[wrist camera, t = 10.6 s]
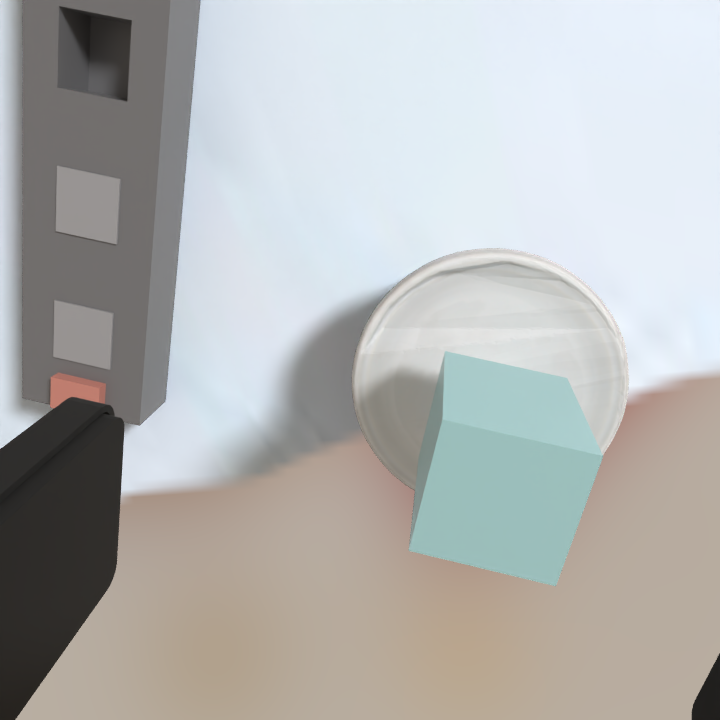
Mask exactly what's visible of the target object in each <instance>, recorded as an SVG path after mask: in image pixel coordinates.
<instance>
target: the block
mask: <svg viewBox="0 0 720 720" xmlns="http://www.w3.org/2000/svg"><path fill="white" fill-rule="evenodd" d="M602 458H603V455H602V452H601V450H600V448H599V446H598V444H597V442H596V439H595V437H594V435H593V433H592V431H591V429H590V426H589V424H588V422H587V420H586V418H585V416H584V413H583V411H582V409H581V407H580V405H579V403H578V400H577V398H576V396H575V394H574V392H573V390H572V387H571V385H570V383H569V381H568V379H567V378H565V377H560V376H556V375H551V374H547V373H542V372H538V371H533V370H529V369H524V368H520V367H515V366H511V365H506V364H501V363H497V362H492V361H488V360H483V359H479V358H474V357H470V356H465V355H461V354H456V353H452V352H447V351H445V353H444V357H443V361H442V365H441V369H440V373H439V377H438V381H437V385H436V389H435V393H434V397H433V401H432V405H431V409H430V413H429V417H428V421H427V425H426V429H425V433H424V437H423V441H422V446H421V450H420V454H419V458H418V467H417V477H416V486H415V496H414V506H413V516H412V526H411V534H410V545H409V551H413V552H416V553H420V554H425V555H429V556H433V557H437V558H441V559H446V560H450V561H454V562H458V563H462V564H466V565H470V566H474V567H478V568H483V569H487V570H491V571H495V572H499V573H503V574H507V575H512V576H516V577H520V578H524V579H528V580H532V581H537V582H541V583H545V584H549V585H553V586H556V584H557V582H558V579H559V576H560V573H561V571H562V568H563V565H564V562H565V560H566V557H567V554H568V551H569V549H570V546H571V543H572V540H573V538H574V535H575V532H576V529H577V526H578V524H579V521H580V518H581V515H582V513H583V510H584V507H585V505H586V502H587V499H588V496H589V494H590V491H591V488H592V485H593V483H594V480H595V477H596V474H597V471H598V468H599V466H600V463H601V461H602Z"/></svg>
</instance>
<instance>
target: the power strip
mask: <svg viewBox="0 0 720 720" xmlns="http://www.w3.org/2000/svg"><path fill="white" fill-rule="evenodd" d="M199 10H200V0H23V398H25V399H29V400H33V401H38V402H42V403H46V404H50V407H51V408H56V407H57V406H58V405H59V404H61V403H62V402H63V401H65V400H66V399H68V398H70V397H77V398H81V399H85V400H90V401H94V402H99V403H103V404H107V405H111V407H112V408H113V410H114V413H115V416H116V417H120V418H122V419H123V422H126V423H131V424H135V425H139V426H140V425H141V424H142V423H143V422H144V421H145V420H146V419H147V418H148V417H149V416H150V415H151V414H152V413H153V412H155V411H156V410H157V409H158V408H159V407H160V406H161V405H162V404H163V403H164V402H165V399H166V388H167V377H168V365H169V354H170V342H171V331H172V319H173V308H174V297H175V285H176V274H177V262H178V251H179V239H180V228H181V216H182V205H183V194H184V182H185V171H186V159H187V148H188V136H189V125H190V113H191V102H192V91H193V79H194V68H195V56H196V45H197V33H198V22H199Z"/></svg>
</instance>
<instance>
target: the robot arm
mask: <svg viewBox="0 0 720 720" xmlns="http://www.w3.org/2000/svg"><path fill="white" fill-rule="evenodd" d="M123 442H124V422H123V419H122V418H120V417H116V416H115V413H114V410H113V408H112V407H111V405H107V404H103V403H99V402H94V401H90V400H85V399H81V398H77V397H70V398H68V399H66V400H65V401H63V402H62V403H61V404H59V405H58V406H57V407H56V408H54V409H53V410H52V411H50V412H49V413H48V414H46V415H45V416H44V417H42V418H41V419H40V420H38V421H37V422H36V423H34V424H33V425H32V426H30V427H29V428H28V429H26V430H25V431H24V432H22V433H21V434H20V435H18V436H17V437H16V438H14V439H13V440H12V441H10V442H9V443H8V444H7V445H5V446H4V447H3V448H1V449H0V720H15V719H16V718H17V716H18V715H19V714H20V712H21V711H22V709H23V708H24V707H25V705H26V704H27V702H28V701H29V699H30V698H31V696H32V695H33V694H34V692H35V691H36V690H37V688H38V687H39V685H40V684H41V682H42V681H43V680H44V678H45V677H46V676H47V674H48V673H49V671H50V670H51V668H52V667H53V666H54V664H55V663H56V661H57V660H58V659H59V657H60V656H61V654H62V653H63V651H64V650H65V649H66V647H67V646H68V644H69V643H70V641H71V640H72V639H73V637H74V636H75V635H76V633H77V632H78V630H79V629H80V628H81V626H82V624H83V623H84V622H85V621H86V619H87V618H88V616H89V614H90V613H91V612H92V611H93V609H94V608H95V606H96V605H97V604H98V602H99V601H100V599H101V598H102V597H103V595H104V594H105V592H106V591H107V589H108V588H109V586H110V584H111V582H112V579H113V577H114V573H115V570H116V564H117V550H118V532H119V514H120V496H121V478H122V460H123ZM692 720H720V654H719V656H718V658H717V660H716V662H715V663H714V665H713V667H712V669H711V671H710V673H709V675H708V677H707V679H706V681H705V682H704V685H703V686H702V688H701V690H700V692H699V694H698V696H697V698H696V700H695V702H694V704H693V709H692Z"/></svg>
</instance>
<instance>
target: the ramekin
mask: <svg viewBox="0 0 720 720" xmlns="http://www.w3.org/2000/svg"><path fill="white" fill-rule="evenodd" d="M445 351H447V352H452V353H456V354H461V355H465V356H470V357H474V358H479V359H483V360H488V361H492V362H497V363H501V364H506V365H511V366H515V367H520V368H524V369H529V370H533V371H538V372H542V373H547V374H551V375H556V376H560V377H565V378H567V379H568V381H569V383H570V385H571V387H572V390H573V392H574V394H575V396H576V398H577V400H578V403H579V405H580V407H581V409H582V411H583V413H584V416H585V418H586V420H587V422H588V424H589V426H590V429H591V431H592V433H593V435H594V437H595V439H596V442H597V444H598V446H599V448H600V450H601V452H602V455H603V454H604V452H605V451H606V449H607V448H608V446H609V445H610V443H611V441H612V440H613V438H614V436H615V434H616V432H617V430H618V428H619V425H620V423H621V420H622V418H623V414H624V411H625V407H626V402H627V397H628V385H629V373H628V360H627V353H626V347H625V343H624V339H623V337H622V335H621V332H620V330H619V328H618V325H617V323H616V321H615V319H614V318H613V316H612V314H611V313H610V311H609V309H608V308H607V307H606V305H605V304H604V303H603V301H602V300H601V299H600V297H599V296H598V295H597V294H596V293H595V292H594V291H593V290H592V289H591V288H590V287H589V286H588V285H587V284H586V283H585V282H584V281H582V280H581V279H580V278H579V277H577V276H576V275H574V274H573V273H572V272H570V271H569V270H568V269H566V268H564V267H563V266H561V265H559V264H557V263H555V262H553V261H551V260H548V259H546V258H543V257H540V256H538V255H535V254H531V253H527V252H523V251H517V250H510V249H500V248H486V249H474V250H466V251H461V252H456V253H453V254H449V255H446V256H443V257H441V258H438V259H436V260H433V261H431V262H429V263H427V264H425V265H423V266H422V267H420V268H418V269H417V270H415V271H414V272H412V273H411V274H409V275H408V276H406V277H405V278H404V279H402V280H401V281H400V282H399V283H398V284H397V285H396V286H394V287H393V288H392V289H391V290H390V291H389V292H388V293H387V294H386V296H385V297H384V298H383V299H382V300H381V302H380V303H379V304H378V305H377V307H376V308H375V310H374V311H373V313H372V314H371V316H370V318H369V320H368V321H367V323H366V325H365V327H364V329H363V332H362V334H361V337H360V340H359V342H358V345H357V349H356V353H355V357H354V362H353V368H352V395H353V402H354V408H355V412H356V416H357V419H358V422H359V425H360V427H361V430H362V432H363V435H364V437H365V439H366V441H367V442H368V444H369V445H370V447H371V449H372V450H373V451H374V453H375V454H376V456H377V457H378V458H379V460H381V462H382V464H383V465H384V466H385V467H386V468H387V469H388V470H389V471H390V472H391V473H392V474H393V475H394V476H395V477H396V478H398V479H399V480H400V481H401V482H403V483H404V484H405V485H407V486H408V487H410V488H411V489H413V490H415V486H416V477H417V467H418V458H419V454H420V450H421V446H422V441H423V437H424V433H425V429H426V425H427V421H428V417H429V413H430V409H431V405H432V401H433V397H434V393H435V389H436V385H437V381H438V377H439V373H440V369H441V365H442V361H443V357H444V353H445Z"/></svg>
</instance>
